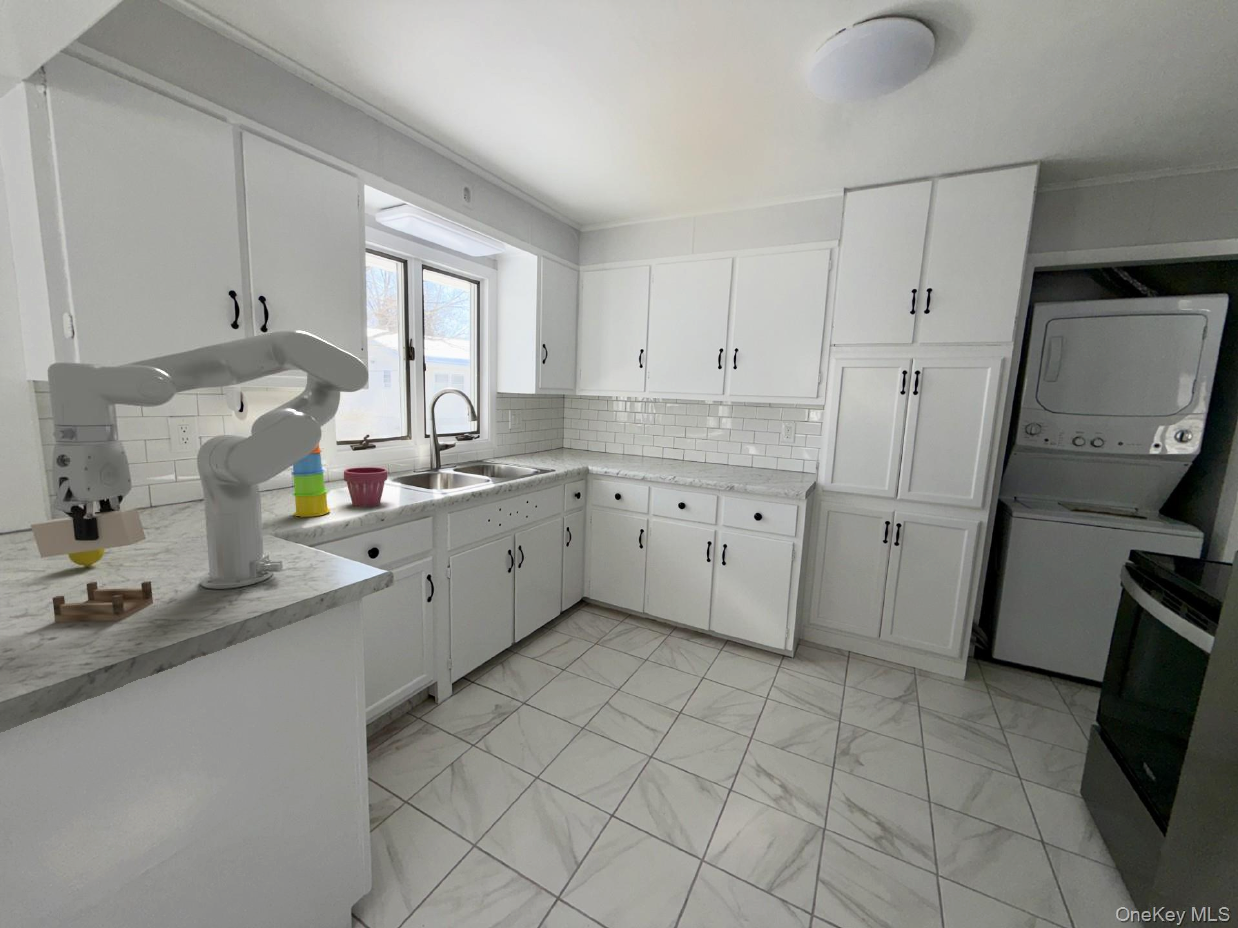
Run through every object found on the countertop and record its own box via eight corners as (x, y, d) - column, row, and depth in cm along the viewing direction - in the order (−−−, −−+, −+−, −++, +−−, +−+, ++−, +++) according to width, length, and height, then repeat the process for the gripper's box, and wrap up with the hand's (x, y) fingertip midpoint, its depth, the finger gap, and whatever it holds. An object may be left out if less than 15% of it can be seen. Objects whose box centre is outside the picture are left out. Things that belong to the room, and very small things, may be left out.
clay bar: (145, 539, 90) (136, 507, 89) (129, 544, 87) (120, 512, 86) (60, 551, 88) (50, 519, 87) (41, 557, 85) (30, 524, 84)
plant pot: (396, 503, 181) (395, 469, 179) (359, 510, 169) (358, 474, 167) (373, 498, 188) (372, 465, 187) (336, 504, 176) (335, 469, 175)
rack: (153, 602, 94) (151, 581, 93) (120, 620, 87) (118, 597, 86) (93, 603, 92) (91, 581, 92) (55, 621, 85) (52, 598, 85)
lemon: (104, 561, 113) (101, 527, 112) (107, 567, 110) (103, 533, 109) (69, 566, 109) (65, 532, 108) (70, 573, 106) (66, 537, 105)
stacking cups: (308, 519, 156) (304, 410, 151) (286, 514, 159) (281, 409, 154) (337, 512, 165) (333, 410, 161) (315, 508, 169) (311, 408, 164)
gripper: (66, 440, 77) (78, 551, 80) (149, 432, 94) (157, 524, 96) (11, 438, 76) (25, 551, 79) (104, 430, 92) (113, 524, 95)
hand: (97, 535), depth 87 cm, fingers closed on clay bar, 3 cm apart
